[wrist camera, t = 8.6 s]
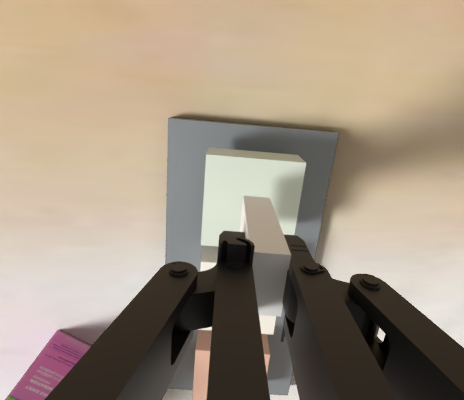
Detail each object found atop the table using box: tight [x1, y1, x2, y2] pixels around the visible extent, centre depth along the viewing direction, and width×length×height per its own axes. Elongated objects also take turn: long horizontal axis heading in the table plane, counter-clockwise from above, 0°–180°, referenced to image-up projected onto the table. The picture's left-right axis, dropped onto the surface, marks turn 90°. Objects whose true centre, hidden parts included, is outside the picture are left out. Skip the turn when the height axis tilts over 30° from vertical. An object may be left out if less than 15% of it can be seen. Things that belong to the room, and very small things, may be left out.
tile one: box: [201, 147, 306, 246], centre depth 21 cm, size 6×6×3 cm
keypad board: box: [165, 117, 339, 395], centre depth 26 cm, size 25×12×1 cm, turn 175°
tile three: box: [192, 330, 270, 400], centre depth 27 cm, size 6×6×3 cm
